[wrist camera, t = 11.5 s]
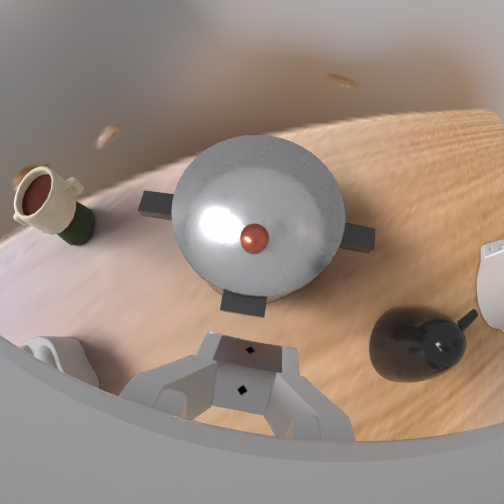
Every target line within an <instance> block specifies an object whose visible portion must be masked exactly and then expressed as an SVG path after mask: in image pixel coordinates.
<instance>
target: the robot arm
mask: <svg viewBox="0 0 504 504" xmlns="http://www.w3.org/2000/svg"><path fill="white" fill-rule="evenodd" d="M477 297H478V303H479V307H480V311H481V313H482V316H483V318H484V319H485V321H486V322H487V324H488V325H489V326H491V327H492V328H494V329H499V330H501V331H502V332H503V333H504V239H502V240H499V241H495V242H492V243H488V244H484V245H482V246H481V263H480V267H479V271H478V276H477ZM211 405H213V406H218V407H223V408H228V409H234V410H239V411H244V412H249V413H254V414H259V415H264V418H265V419H266V421H267V422H268V424H269V426H270V427H271V429H272V430H273V432H274V434H275V435H276V436H269V435H262V434H256V433H250V432H244V431H238V430H233V429H228V428H223V427H218V426H214V425H209V424H205V423H201V422H197V421H193V419H195V418H196V417H197V416H199V415H200V414H202V413H203V412H204V411H206V410H207V409H209V408H210V407H211ZM0 504H504V422H503V423H499V424H495V425H491V426H487V427H483V428H479V429H474V430H469V431H464V432H459V433H454V434H448V435H441V436H434V437H426V438H417V439H406V440H392V441H364V442H356V441H355V437H354V433H353V429H352V425H351V421H350V418H349V417H348V416H347V415H346V414H345V413H344V412H342V411H341V410H340V409H339V408H338V407H337V406H336V405H335V404H333V403H332V402H331V401H330V400H329V399H328V398H327V397H326V396H324V395H323V394H322V393H321V392H320V391H319V390H318V389H317V388H316V387H315V386H313V385H312V384H311V383H310V382H309V381H308V380H307V379H306V378H305V377H303V376H300V375H299V364H298V354H297V349H296V348H292V347H284V346H277V345H271V344H264V343H258V342H252V341H249V340H244V339H239V338H235V337H231V336H226V335H222V334H218V333H213V332H207V333H206V334H205V337H204V339H203V341H202V343H201V345H200V347H199V349H198V351H197V353H196V355H195V356H193V355H190V356H187V357H184V358H182V359H179V360H177V361H174V362H171V363H168V364H166V365H163V366H160V367H158V368H155V369H152V370H149V371H146V372H143V373H141V374H138V375H135V376H133V377H132V378H131V379H130V381H129V382H128V383H127V385H126V386H125V388H124V389H123V390H122V392H121V393H120V394H119V396H116V395H113V394H111V393H108V392H106V391H103V390H101V389H99V388H96V387H94V386H92V385H89V384H87V383H85V382H83V381H81V380H79V379H76V378H74V377H72V376H70V375H68V374H66V373H64V372H62V371H60V370H58V369H56V368H54V367H52V366H51V365H49V364H47V363H45V362H43V361H41V360H40V359H38V358H36V357H34V356H33V355H31V354H29V353H27V352H26V351H24V350H22V349H21V348H19V347H18V346H16V345H14V344H13V343H11V342H10V341H8V340H7V339H5V338H4V337H2V336H1V335H0Z"/></svg>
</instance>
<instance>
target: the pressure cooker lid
mask: <svg viewBox="0 0 504 504" xmlns="http://www.w3.org/2000/svg"><path fill="white" fill-rule="evenodd" d="M172 225H173V229H174V234H175V237H176V239H177V242H178V245H179V247H180V248H181V250H182V252H183V254H184V255H185V257H186V258H187V260H188V261H189V262H190V263H191V265H192V266H193V267H194V268H195V269H196V270H197V271H198V272H199V273H200V274H201V275H202V276H203V277H204V278H206V279H207V280H208V281H210V282H211V283H213V284H214V285H216V286H218V287H220V288H222V289H224V290H227V291H229V292H232V293H235V294H240V295H244V296H252V297H269V296H275V295H281V294H284V293H287V292H290V291H293V290H295V289H297V288H299V287H301V286H303V285H304V284H306V283H308V282H309V281H311V280H312V279H313V278H315V277H316V276H317V275H318V274H319V273H321V272H322V271H323V270H324V269H325V268H326V266H327V265H328V264H329V263H330V262H331V260H332V259H333V257H334V256H335V254H336V252H337V250H338V248H339V246H340V243H341V241H342V237H343V233H344V227H345V207H344V201H343V197H342V194H341V191H340V189H339V186H338V184H337V182H336V180H335V179H334V177H333V175H332V174H331V172H330V171H329V170H328V168H327V167H326V166H325V165H324V164H323V163H322V162H321V161H320V160H319V159H318V158H317V157H316V156H315V155H313V154H312V153H311V152H309V151H308V150H306V149H305V148H303V147H301V146H299V145H297V144H295V143H293V142H291V141H288V140H285V139H282V138H277V137H273V136H265V135H248V136H240V137H235V138H231V139H228V140H225V141H222V142H220V143H218V144H216V145H214V146H212V147H210V148H209V149H207V150H205V151H204V152H203V153H201V154H200V155H199V156H198V157H197V158H195V159H194V161H193V162H192V163H191V164H190V165H189V166H188V167H187V169H186V170H185V172H184V173H183V174H182V176H181V178H180V180H179V182H178V184H177V187H176V190H175V192H174V197H173V201H172Z"/></svg>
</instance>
